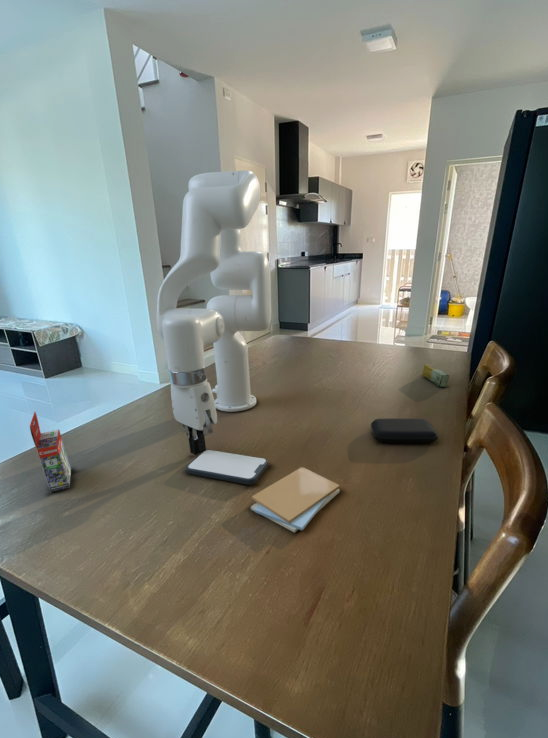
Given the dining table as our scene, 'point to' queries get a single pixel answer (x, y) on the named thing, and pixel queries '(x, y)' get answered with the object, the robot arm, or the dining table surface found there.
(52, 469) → the ink box
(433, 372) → the medication box
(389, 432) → the carrying case
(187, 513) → the dining table surface
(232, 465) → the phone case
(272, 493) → the envelope pile
